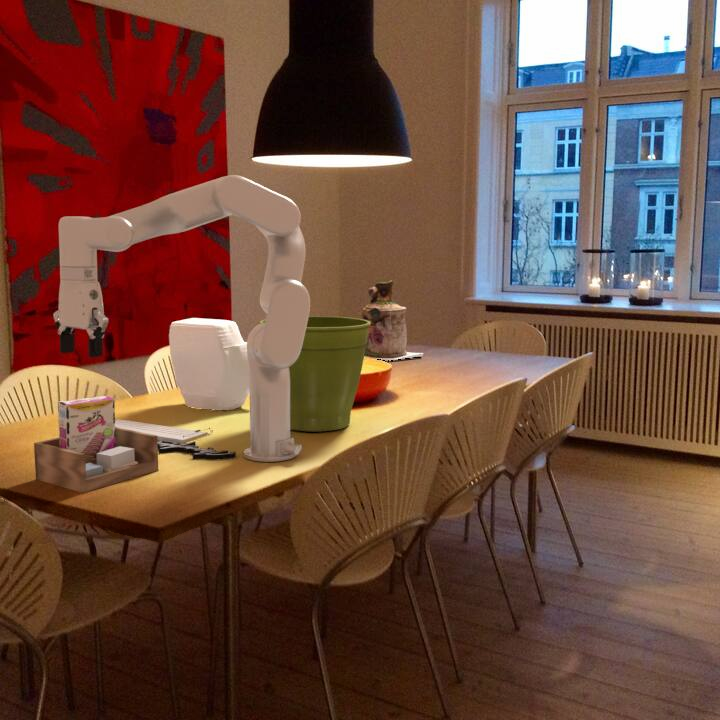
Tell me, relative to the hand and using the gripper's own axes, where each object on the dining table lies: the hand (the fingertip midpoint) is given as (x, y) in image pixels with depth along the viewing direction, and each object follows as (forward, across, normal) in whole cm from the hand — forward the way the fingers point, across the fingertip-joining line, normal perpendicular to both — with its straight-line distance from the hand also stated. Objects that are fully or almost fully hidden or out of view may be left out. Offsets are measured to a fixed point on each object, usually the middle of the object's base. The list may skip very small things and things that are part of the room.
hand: (81, 354), depth 185 cm
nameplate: (+27, -4, -26) cm, 38 cm away
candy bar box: (+26, -1, -1) cm, 27 cm away
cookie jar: (+25, +42, -180) cm, 186 cm away
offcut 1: (+26, -8, +5) cm, 28 cm away
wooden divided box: (+26, -4, -1) cm, 26 cm away
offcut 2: (+24, -8, -2) cm, 25 cm away
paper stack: (+26, +27, -66) cm, 76 cm away
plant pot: (+26, -12, -66) cm, 72 cm away
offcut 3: (+26, -8, -2) cm, 28 cm away
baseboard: (+27, +18, -35) cm, 48 cm away
